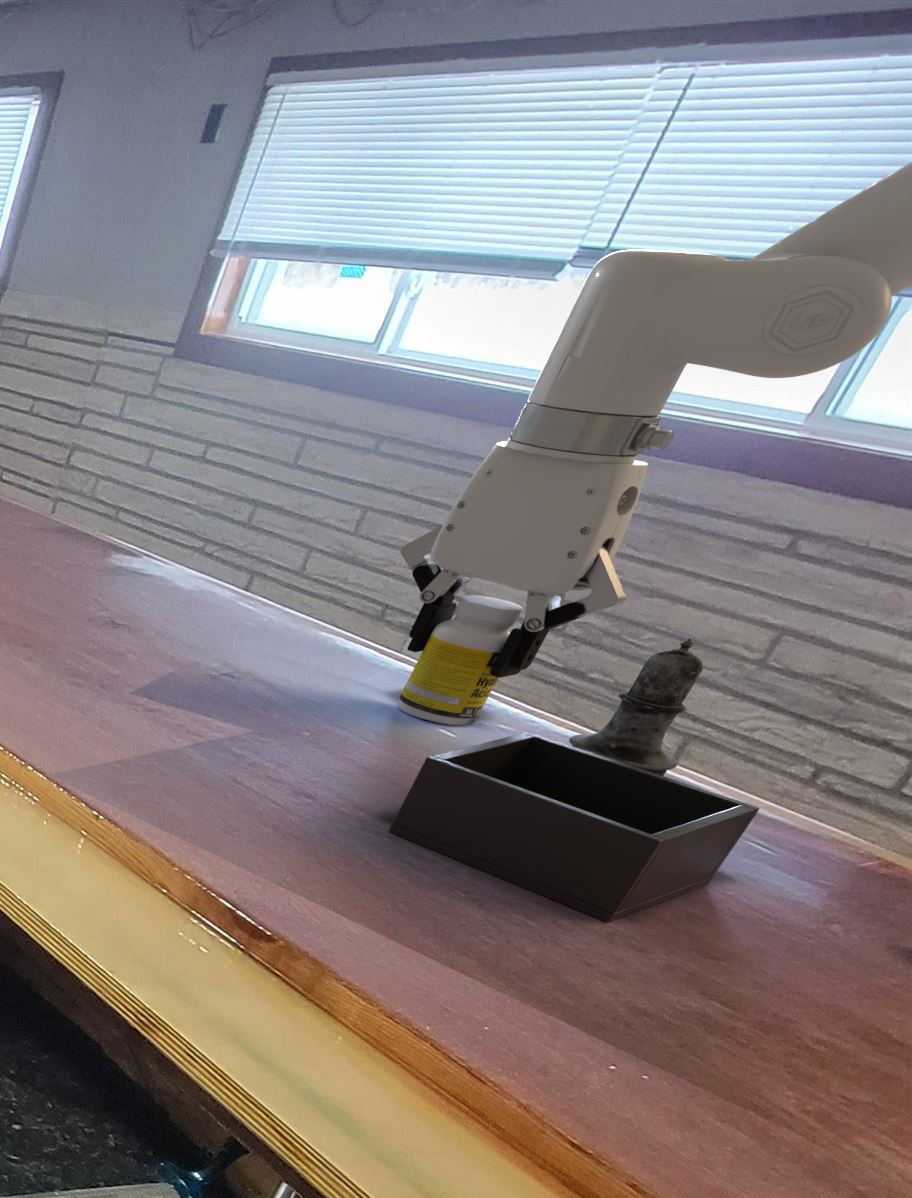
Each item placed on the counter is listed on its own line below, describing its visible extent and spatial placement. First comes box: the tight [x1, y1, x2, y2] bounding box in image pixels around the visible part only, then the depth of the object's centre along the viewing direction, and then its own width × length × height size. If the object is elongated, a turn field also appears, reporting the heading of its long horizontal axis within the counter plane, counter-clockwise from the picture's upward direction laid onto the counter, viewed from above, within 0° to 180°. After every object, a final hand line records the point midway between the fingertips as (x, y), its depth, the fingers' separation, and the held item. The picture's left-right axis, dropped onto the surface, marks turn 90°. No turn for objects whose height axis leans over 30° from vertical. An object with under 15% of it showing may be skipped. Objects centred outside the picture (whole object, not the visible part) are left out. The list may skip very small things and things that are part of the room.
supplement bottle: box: [396, 594, 524, 726], centre depth 100 cm, size 5×5×10 cm
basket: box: [388, 731, 760, 923], centre depth 79 cm, size 12×12×6 cm
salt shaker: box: [568, 638, 704, 777], centre depth 86 cm, size 6×6×12 cm
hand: (462, 659), depth 100 cm, fingers closed on supplement bottle, 5 cm apart
